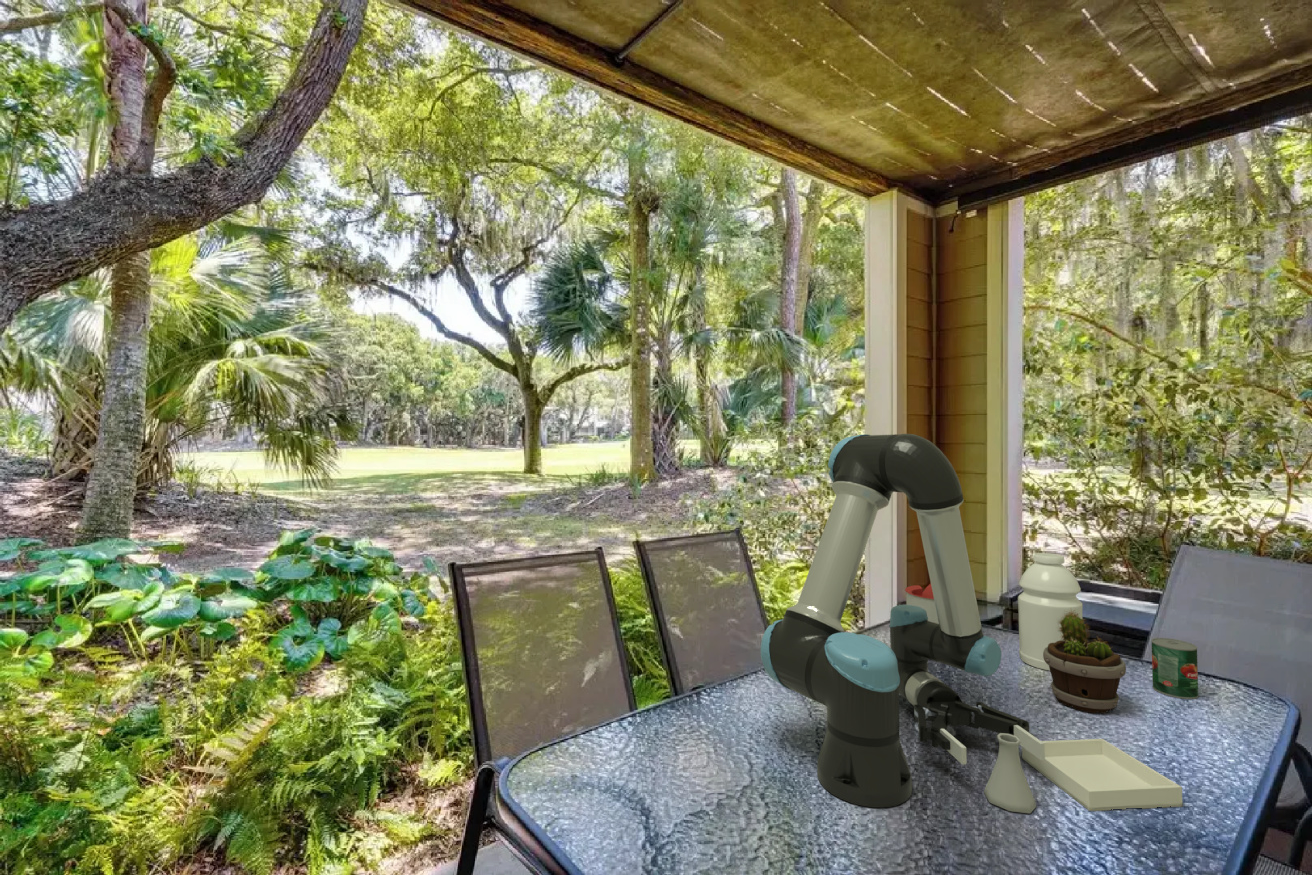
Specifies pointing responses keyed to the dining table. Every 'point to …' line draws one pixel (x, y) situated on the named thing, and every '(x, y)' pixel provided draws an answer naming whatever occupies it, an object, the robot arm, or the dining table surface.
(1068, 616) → the flowerpot
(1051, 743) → the box
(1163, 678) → the canned tomato
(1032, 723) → the dining table surface
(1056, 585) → the bottle
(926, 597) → the citrus juicer
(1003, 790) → the flask
